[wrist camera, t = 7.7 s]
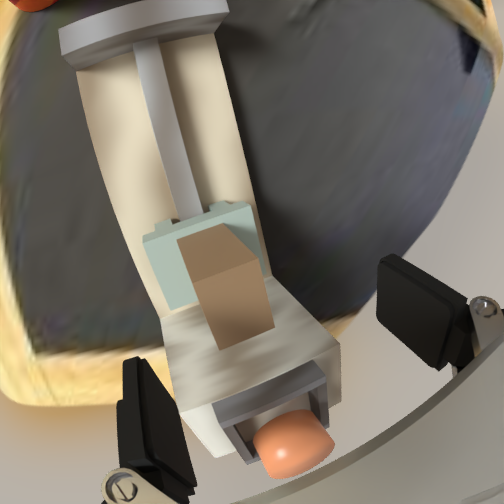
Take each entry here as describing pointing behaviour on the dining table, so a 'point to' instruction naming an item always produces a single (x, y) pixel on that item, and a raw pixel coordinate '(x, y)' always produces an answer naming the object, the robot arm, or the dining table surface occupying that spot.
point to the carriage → (214, 270)
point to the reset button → (292, 443)
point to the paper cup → (32, 4)
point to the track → (139, 146)
